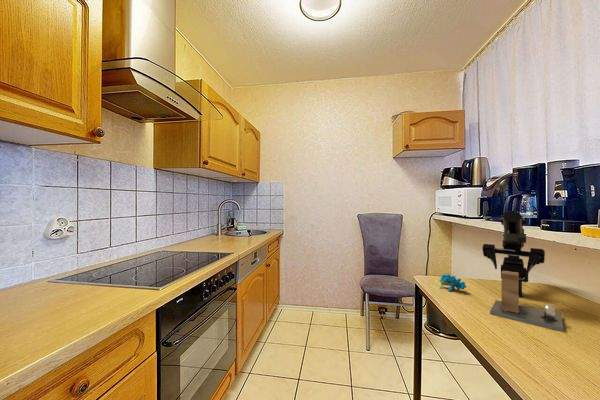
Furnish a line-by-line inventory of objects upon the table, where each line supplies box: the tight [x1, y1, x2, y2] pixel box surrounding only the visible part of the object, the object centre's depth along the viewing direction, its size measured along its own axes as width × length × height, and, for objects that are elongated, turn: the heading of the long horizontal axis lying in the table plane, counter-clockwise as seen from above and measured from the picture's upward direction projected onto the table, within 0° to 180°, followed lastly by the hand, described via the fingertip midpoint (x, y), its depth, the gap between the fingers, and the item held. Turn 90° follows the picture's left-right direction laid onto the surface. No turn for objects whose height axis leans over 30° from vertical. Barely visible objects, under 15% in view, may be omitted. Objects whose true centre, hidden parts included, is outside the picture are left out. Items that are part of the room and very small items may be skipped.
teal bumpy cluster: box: [439, 273, 467, 292], centre depth 115 cm, size 11×6×10 cm
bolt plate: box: [489, 299, 564, 333], centre depth 89 cm, size 14×18×5 cm
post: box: [501, 271, 520, 313], centre depth 91 cm, size 4×4×13 cm
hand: (511, 270), depth 97 cm, fingers open, 9 cm apart
